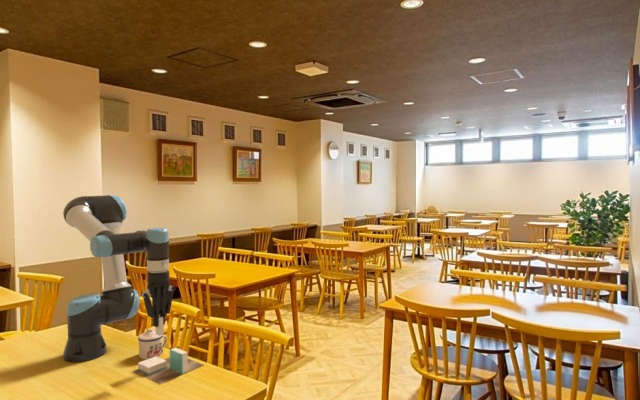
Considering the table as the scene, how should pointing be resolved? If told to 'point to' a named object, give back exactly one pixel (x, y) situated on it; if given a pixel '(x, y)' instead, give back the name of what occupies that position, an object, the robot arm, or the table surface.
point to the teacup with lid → (151, 344)
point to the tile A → (152, 365)
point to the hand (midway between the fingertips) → (159, 334)
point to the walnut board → (168, 372)
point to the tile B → (178, 360)
